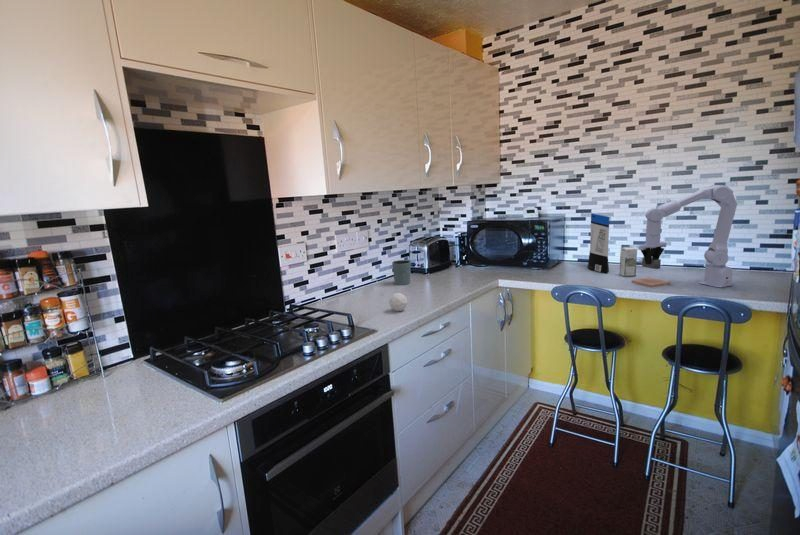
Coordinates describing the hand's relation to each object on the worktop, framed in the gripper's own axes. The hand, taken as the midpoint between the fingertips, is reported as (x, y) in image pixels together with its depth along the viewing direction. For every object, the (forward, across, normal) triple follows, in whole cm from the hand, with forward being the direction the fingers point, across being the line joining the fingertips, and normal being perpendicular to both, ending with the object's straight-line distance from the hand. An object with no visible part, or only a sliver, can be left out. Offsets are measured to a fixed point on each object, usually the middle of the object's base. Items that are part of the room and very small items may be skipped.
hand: (651, 263), depth 194 cm
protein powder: (+10, -3, -36) cm, 37 cm away
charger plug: (+2, 0, 0) cm, 2 cm away
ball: (+10, +119, -18) cm, 121 cm away
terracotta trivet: (+9, 0, 0) cm, 9 cm away
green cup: (+10, +102, -64) cm, 121 cm away
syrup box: (+10, -4, -17) cm, 20 cm away
